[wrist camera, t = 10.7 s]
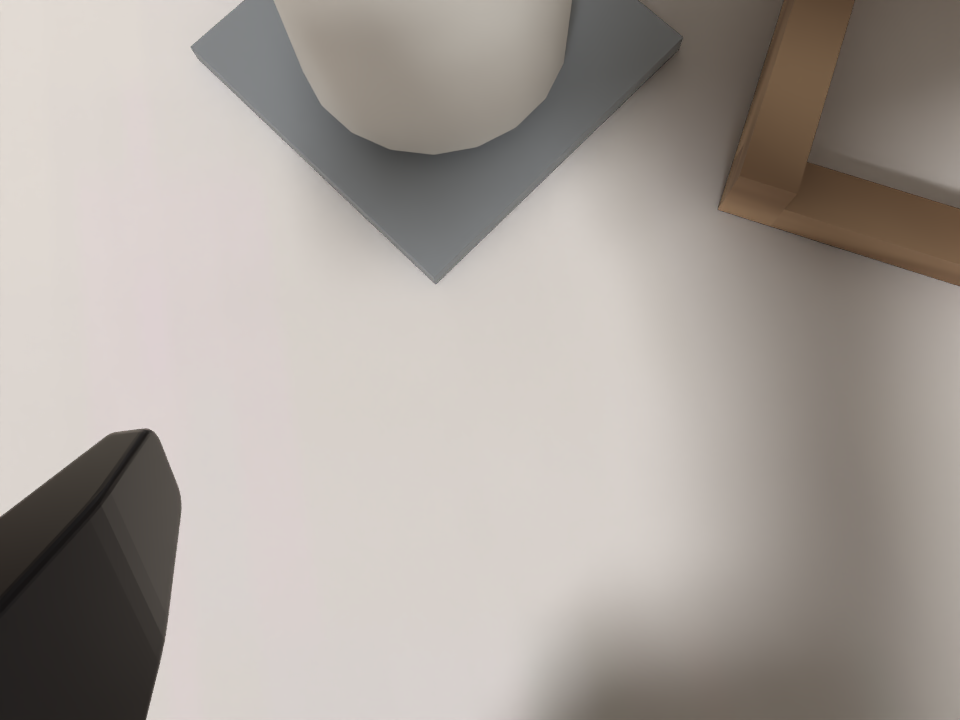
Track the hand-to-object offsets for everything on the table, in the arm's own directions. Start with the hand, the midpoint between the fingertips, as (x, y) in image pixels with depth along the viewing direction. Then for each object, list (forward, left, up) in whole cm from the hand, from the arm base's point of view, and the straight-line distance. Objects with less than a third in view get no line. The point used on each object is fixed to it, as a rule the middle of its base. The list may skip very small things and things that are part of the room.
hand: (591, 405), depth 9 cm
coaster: (+7, +11, -14) cm, 19 cm away
